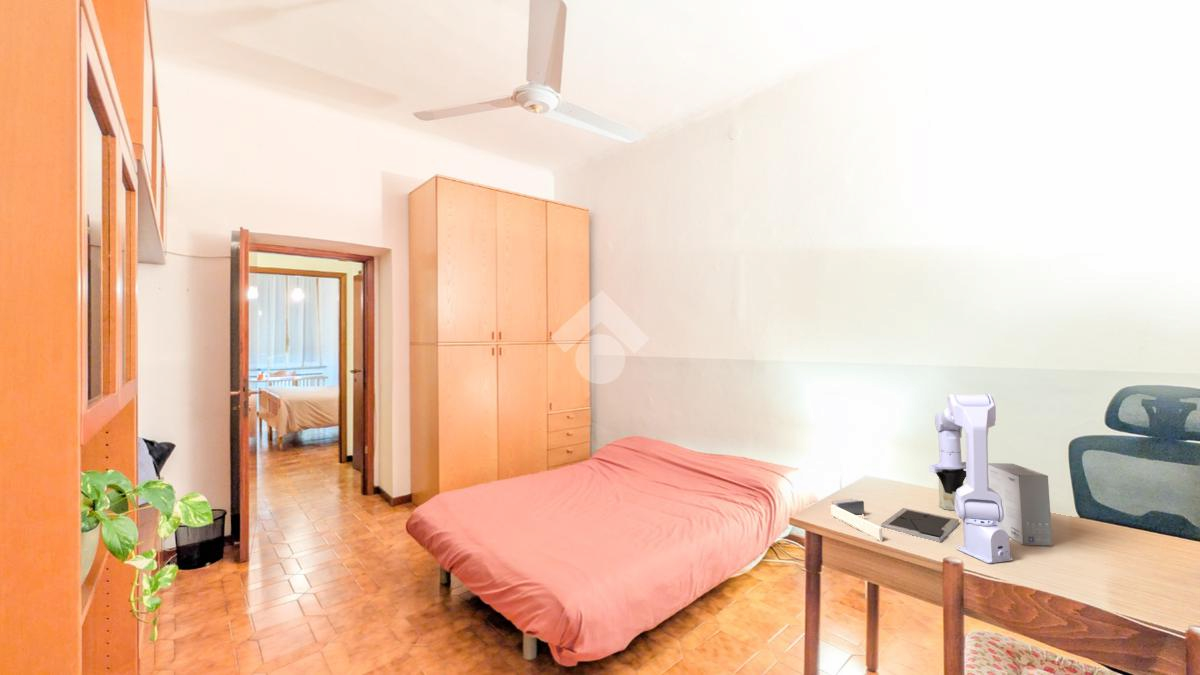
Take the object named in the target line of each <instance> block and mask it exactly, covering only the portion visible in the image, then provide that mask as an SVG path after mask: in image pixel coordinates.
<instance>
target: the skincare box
mask: <svg viewBox="0 0 1200 675" xmlns="http://www.w3.org/2000/svg"><path fill="white" fill-rule="evenodd" d="M963 485H964V483H963V484H962V486H963ZM955 496H956V492H953V493H952V494H949V493H946V492H945V491H944V488H943V485H942V483H941V480H940V479H939V478H938V501H939V502H938V504H939V507H941V508H942V509H943V510H947V511H955V505H954V500H955Z"/></svg>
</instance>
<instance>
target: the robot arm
mask: <svg viewBox="0 0 1200 675" xmlns="http://www.w3.org/2000/svg"><path fill="white" fill-rule="evenodd" d="M996 414H997V413H996V403H995V400H994V398H993V396H992V395H991V394H990V393H985V394H980V393H979V394H977V393H976V394H972V393H971V394H954V393H949V394H948V396H947V397H946V408H945V409H944V411H943V412H942V413H935V416H934V425H935V429H936V431H937V435H938V450H939V461H937V463H936V464H930V465H928V466H929V472H930V473H933V474H934V473H935V474H936V476H938V480H939V479H940V480H941V483H942V485H943V488H944V491H945V492H946V493H949V494H952V493H953V492H956V496H955V500H954V505H955V510H954V511H955V514H956V516H957V517H958V518H959V520H960V519H961V520H962V526H963V528H962V529H963V544H964V546H958V547H956V550H958V551H960V552H962V553H964V554H966V555H968V556H971V557H974V558H976V559H978V560H980V561H982V562H984V563H987V564H995V563H1002V562H1008V561H1013V560H1014V559H1013V558H1012V556H1011V552H1010V551H1011V550H1010V549H1011V548H1010V537H1009V536H1008V534H1007V533H1006V532H1005V531H1004V530H1002V529H1001V528H999V527H998V526H997V525H999V523H998V522H1001V521H1002V520H1003V518H1004V510H1003V506H1002V499H1001V497H1000V496H999V494H998V493H997V492H995V491H994V490H992V489H991V488H989V487H988V463H989V460H988V459H989V454H988V452H989V451H988V448H989V447H988V446H989V445H988V442H989V441H988V440H989V439H988V434H989V429H990V428H992V427H994V426H996V420H997V418H996V417H997V415H996ZM962 430H964V431H965V461H963V460H962V450H961V449H962V448H961V447H962V446H961V438H962V432H963V431H962ZM965 479H966V480H965ZM964 481H966V483H965V484H964ZM962 484H963V486H962Z"/></svg>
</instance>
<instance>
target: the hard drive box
mask: <svg viewBox="0 0 1200 675" xmlns="http://www.w3.org/2000/svg"><path fill="white" fill-rule="evenodd" d="M988 487H989V488H991V489H992V490H994V491H995V492H997V493H998V494H999V496H1000V497H1001V499H1002V506H1003V510H1004V518H1003V520H1002V521H1001V522H998V523H999V525H997V526H998V527H999V528H1001V529H1002V530H1004V531H1005V532H1006V533H1007V534H1008V537H1009V538H1010V539H1012V540H1014V541H1016V542H1018V543H1019V544H1021V545H1024V546H1028V545H1029V546H1045V547H1046V546H1049V547H1053V533H1052V532H1053V531H1052V530H1053V529H1052V518H1051V517H1052V516H1051V505H1050V504H1051V502H1050V488H1049V487H1050V486H1049V475H1047V474H1044V473H1041V472H1038V471H1035V470H1034V469H1033V470H1032V469H1031V468H1027V467H1023V466H1021V465H1018V464H1015V463H1000V462H999V463H997V462H993V463H992V462H990V463H989V462H988Z"/></svg>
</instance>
